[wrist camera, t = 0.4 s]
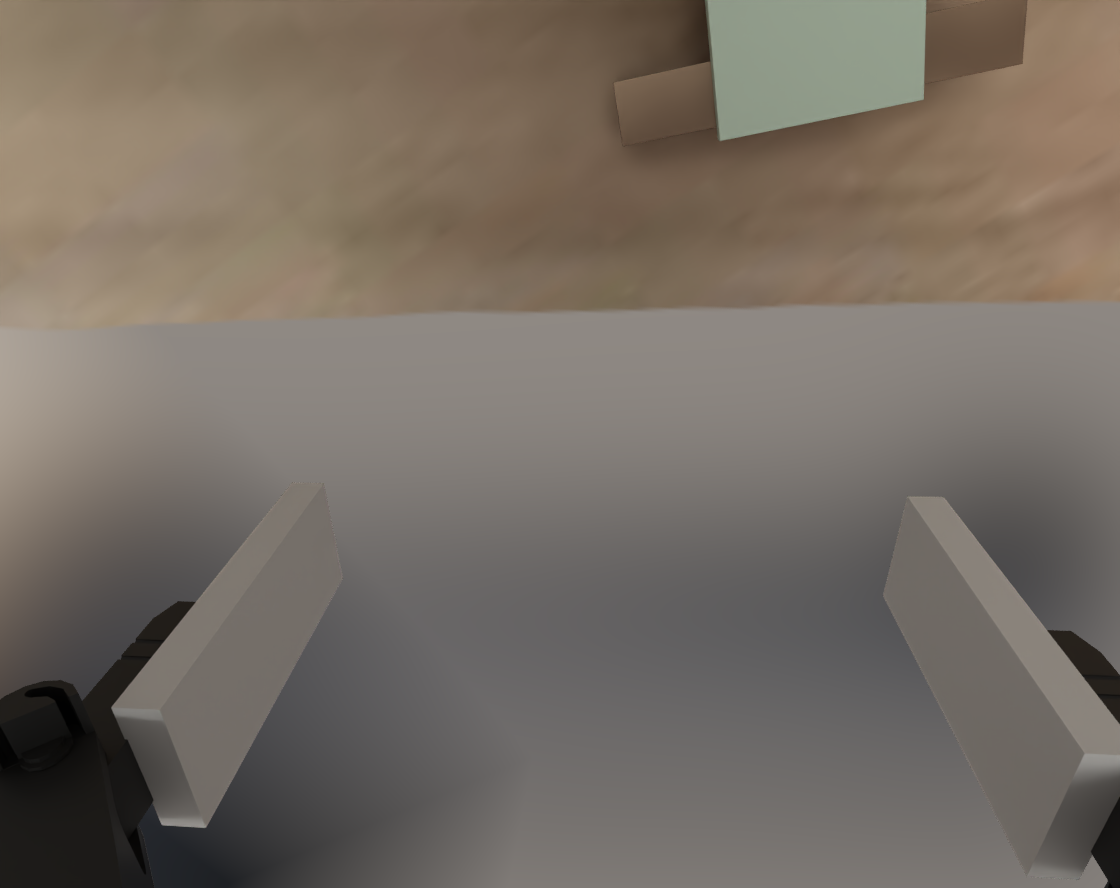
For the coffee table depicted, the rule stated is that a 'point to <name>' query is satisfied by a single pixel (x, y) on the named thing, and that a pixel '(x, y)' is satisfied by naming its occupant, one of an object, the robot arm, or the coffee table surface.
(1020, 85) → the coffee table surface
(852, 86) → the cover
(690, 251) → the coffee table surface
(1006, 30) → the brown parallel walls
